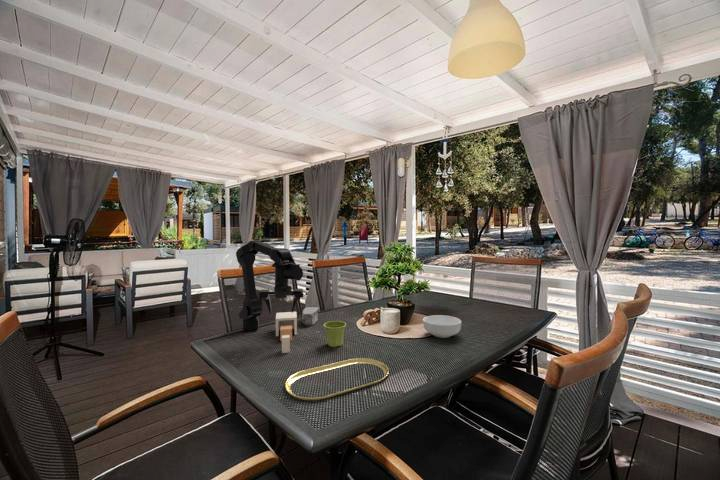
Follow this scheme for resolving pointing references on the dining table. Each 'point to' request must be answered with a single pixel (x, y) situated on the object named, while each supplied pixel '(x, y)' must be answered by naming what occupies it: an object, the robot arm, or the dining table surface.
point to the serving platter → (332, 366)
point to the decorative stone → (310, 316)
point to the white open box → (286, 321)
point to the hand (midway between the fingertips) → (281, 312)
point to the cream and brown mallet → (285, 338)
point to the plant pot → (334, 332)
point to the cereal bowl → (442, 325)
